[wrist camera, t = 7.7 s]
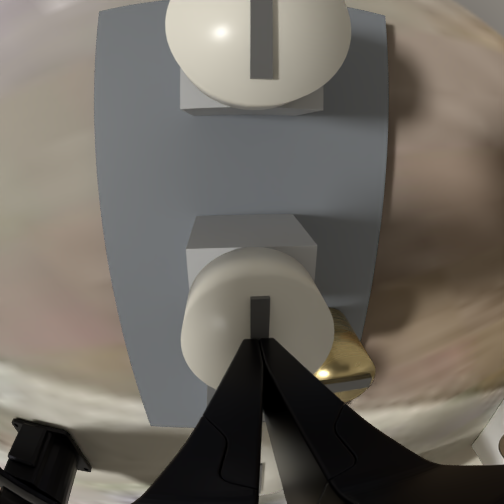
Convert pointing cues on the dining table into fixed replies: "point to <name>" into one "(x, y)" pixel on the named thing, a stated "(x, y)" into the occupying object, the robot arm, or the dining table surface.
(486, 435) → the gable box
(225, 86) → the knob
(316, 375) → the knob
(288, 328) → the knob mid
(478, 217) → the dining table surface
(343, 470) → the robot arm
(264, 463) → the knob
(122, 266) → the panel
